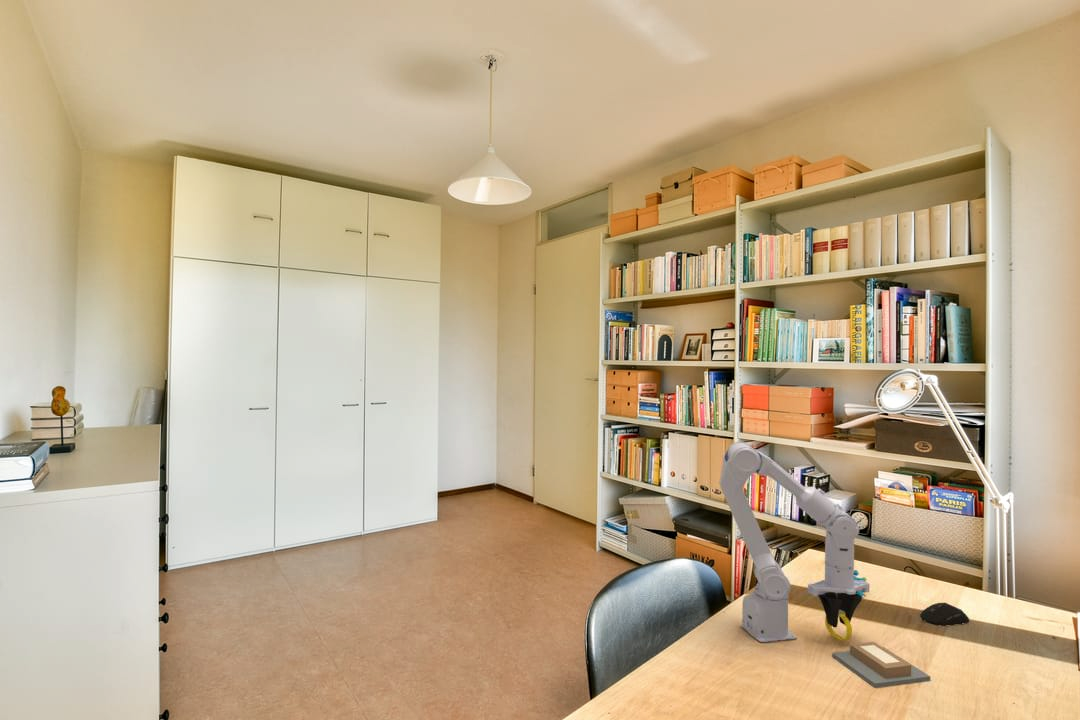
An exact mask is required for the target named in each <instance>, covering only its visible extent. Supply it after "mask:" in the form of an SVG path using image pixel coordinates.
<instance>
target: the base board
mask: <svg viewBox="0 0 1080 720" xmlns="http://www.w3.org/2000/svg"><path fill="white" fill-rule="evenodd" d="M831 657H832V658H833V659H835V660H836V661H837V662H838V663H840V664H842V665H843V666H844V667H846V668H847V669H848V670H850V671H851V672H852V673H854V674H855V675H856V676H857V677H859V678H861V679H862V680H863V681H865V682H866V683H868V684H869V685H870V686H872V687H873V688H883V687H889V686H890V687H891V686H898V685H899V686H900V685H906V684H914V683H922V682H929V681H931V675H929V674H927V673H925V672H924V671H923V670H921V669H919V668H918V667H916V665H913V664H912V663H910V662H908V661H906V660H905V659H903V658H902V657H900V656H899V655H897V654H895V653H894V652H892V651H890V650H889V649H888V648H885V646H881V645H880V644H878V643H877V642H875V641H869V642H859V643H850V644H849V650H846V651H838V652H837V651H836V652H831Z"/></svg>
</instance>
